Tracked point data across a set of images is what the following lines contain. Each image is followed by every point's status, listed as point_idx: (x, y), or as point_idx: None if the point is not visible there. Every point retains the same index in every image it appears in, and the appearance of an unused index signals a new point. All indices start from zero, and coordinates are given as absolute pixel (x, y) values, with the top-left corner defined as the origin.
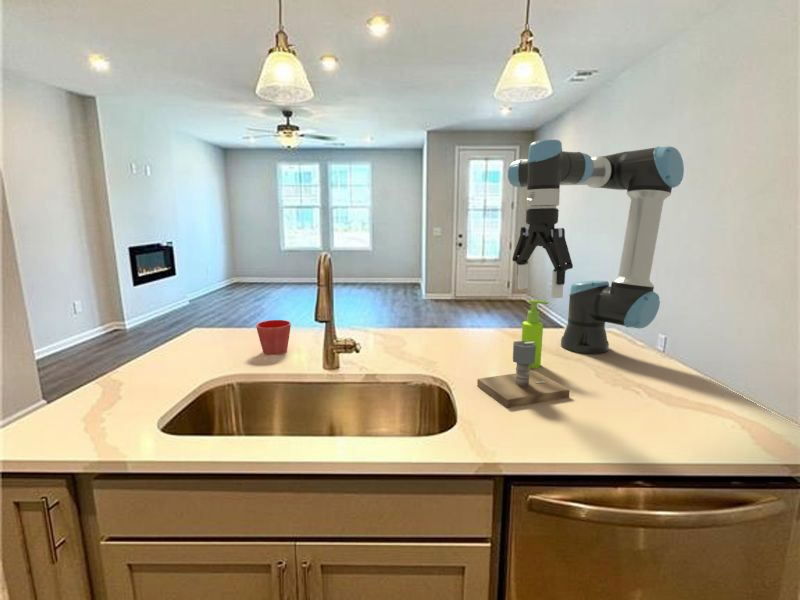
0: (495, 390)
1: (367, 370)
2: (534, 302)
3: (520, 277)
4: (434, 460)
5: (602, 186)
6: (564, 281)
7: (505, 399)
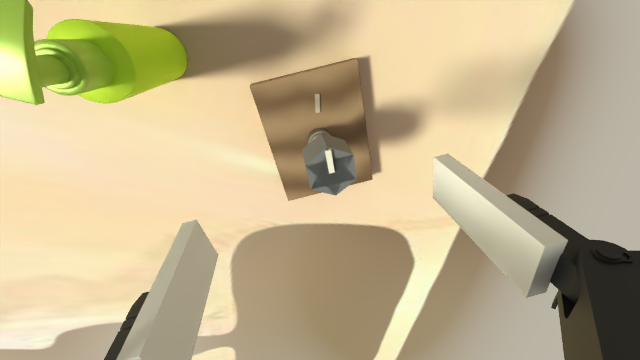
0: None
1: (223, 311)
2: (37, 80)
3: (201, 302)
4: (446, 255)
5: None
6: (532, 203)
7: (367, 179)
